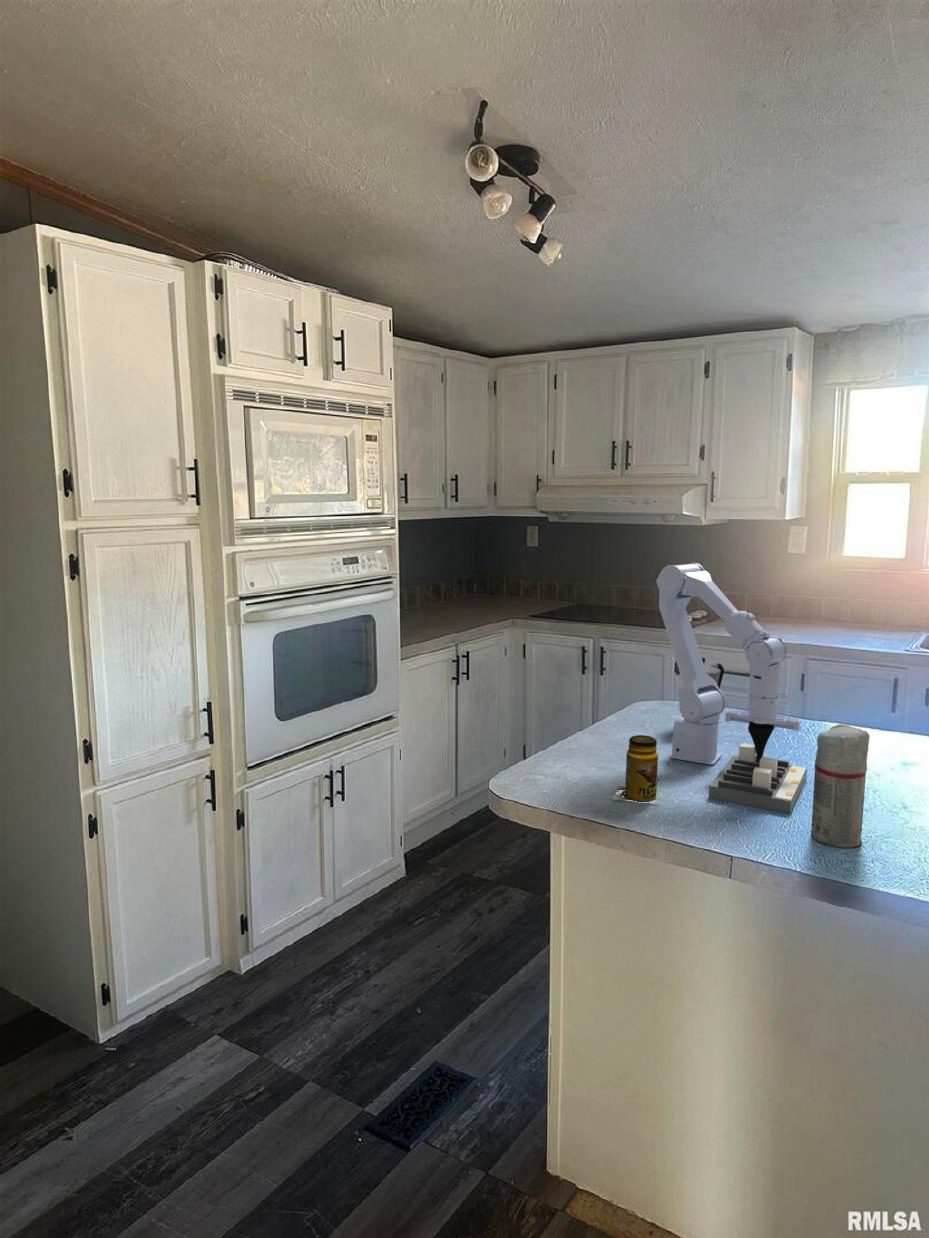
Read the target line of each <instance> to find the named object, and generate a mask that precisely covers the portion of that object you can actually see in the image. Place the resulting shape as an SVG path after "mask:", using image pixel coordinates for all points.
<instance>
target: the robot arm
mask: <svg viewBox="0 0 929 1238" xmlns="http://www.w3.org/2000/svg"><path fill="white" fill-rule="evenodd" d="M656 586H657V588H658V591H659V594H658V595H659V596H658V597H659V599H658V607H659V612H660V614H661V617H662V621H663V623H664V627H665V630H666V633H667V636H668V639H669V643H670V646H671V649H672V652H673V655H674V658H675V662H676V664H677V668H678V671H679V673H680V677H681V683H680V685H679V687H678V689H677V694H678V698H679V702H678V709H679V712H680V715H681V716H676V718H675V720H674V724H673V729H672V744H671V745H672V749H671V750H672V751H671V756H670V758H671V759H675V760H681V761H685V762H686V761H687V762H692V763H698V764H705V765H709V766H714V765H716V763H717V762H718V761H719V759H720V758H721V757H722V755H723V754H722V753H721V752H718V739H719V723H720V721H719V720H720V719H721V718H720V717H721V714H722V713H723V712H724V711H725V709H726V708H727V707H726V706H727V699H726V696H725V694H724V692H723V691H721V690H720V689H719V688H718V686H717V683H716V681H715V680H714V679H713V678H711V677H710V676H709V675H707V673H706V670H705V667H704V665H705V663H704V664H703V661H702V658H703V657H702V655H701V652H700V649H699V646H698V642H697V640H696V636H695V634H694V631H693V627H692V624H691V620H690V618H689V615H688V611H687V606H688V604H689V603H690V601H691V600H692V599H693V597H694V598H695V597H696V598H700V599H701V601H703V602H704V603H705V604H706V605H707V606H708V607H709V608H710V609H711V610H712V611H714V613H715V614H717V615H718V616H719V618H721V619H722V620H723V621H724V629H725V631H726V632H727V634H729V635H730V637H732V638H733V640H734V641H735V642H736V643H737V644H738V645H739V646H740V647H741V648H742V649H743V650H744V653H745V658H746V661H747V663H748V665H749V691H748V704H747V705H748V706H747V710H732V709H728V710H726V711H725V717H724V718H725V719H724V720H725V721H727V722H731V721H732V722H737V723H738V722H739V723H747V724H748V727H747V730H748V732H749V735H750V736H751V739H752V742H753V745H755V749H756V756H757V759H761V758H762V757H764V754H765V753H764V752H765V749H766V747H767V743H768V741H769V739H770V737H771V735H772V733H773V731H774V729H776V728H781V729H788V730H792V731H795V732H799V731H800V729H801V719H797V718H792V717H787V716H782V715H779V714H778V706H779V705H778V704H779V693H780V692H779V690H780V680H781V679H780V676H781V663H782V662H783V661H784V660H785V658H786V656H787V654H788V653H787V646H786V644H785V642H783V639H782V638H780V637H778V636H775V635H770V634H771V633H770V632H769V631H768V630H765V629H764V628H763V627H762V626H761V625H760V624H759V623H758V621H756V620H755V617H756V616H755V615H754V614H753V613H752V612H749V613H748V612H747V611H745V610H738V609H737V608H736V607H735V606H734V605H733V604H732V602H731V601H730V600H729V599H728V598H727V596H726V595H725V594H724V593H723V592H722V590H720V589H719V587H718V586H717V585H716V583H715V582H714V581H713V580H712V577H711V574H710V572H708V571H707V570H705V568H704V567H703V566H702V565H701V564H700V563H696V562H690V563H687V564H686V563H685V564H677V565H676V564H675V565H674V564H669V565H666V566H665V567H663V568H662V569H661V571H660V573H659V575H658V577H657V579H656ZM698 690H699V691H698ZM682 716H683V717H682Z"/></svg>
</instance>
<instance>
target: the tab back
mask: <svg viewBox="0 0 929 1238" xmlns="http://www.w3.org/2000/svg"><path fill="white" fill-rule="evenodd" d="M738 756H739V760H743V761H749V762H755V761H756V756H757V755H756V749H755V745H754V744H751V743H744V742H741V744H740V745H739V749H738Z"/></svg>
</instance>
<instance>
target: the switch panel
mask: <svg viewBox="0 0 929 1238" xmlns="http://www.w3.org/2000/svg"><path fill="white" fill-rule="evenodd" d="M789 763H790V761H789V760H783V759H778V763H777V777H776V778H775V777H771V788H770V789H767V788H761V787H756V786H752V782H753V770H754V769H755V767H757V768H759V765H760V759H757V755H756V761H755V762H749V761H743V760H739V755H735V754H734V755H732V756H731V757H730V759H729V760H728V762H727V763H726V764H725V765H724V766H723V768H721V770H720V771H719V772H718V774H717V775H716V777H715V778H714V779H713V781H711V783H710V785H709V787H708V798H709V799H713V800H719V801H725V802H729V803H735V804H739V805H745V806H749V807H755V808H761V809H764V810H771V811H773V812H774V811H775V812H779V813H780V812H781V813H785V814H791V813H792V810H793V808H794V806H795V804H796V801H797V799H798V797H799V795H800V793H801V791H802V788H803V787H804V784H805V783H806V780H807V775H808V773H807V772H808V767H806V766H805V767H804V766H800V765H793V764H789Z"/></svg>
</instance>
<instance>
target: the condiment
mask: <svg viewBox="0 0 929 1238" xmlns="http://www.w3.org/2000/svg"><path fill="white" fill-rule="evenodd" d="M628 742H629V744H628V750H627V751H626V758H625V762H626V763H625V765H626V766H625V779H624V780H625V785H624V786H623V785H616V787H615V790H614V792H615V791H616V790H617V791H616V792H618V791H619V790H625V791H623V792H622V793H621V794H620V793H619V794H620V795H618V794H617V795H616V794H615V795H614V794H613V797H612V801H619V800H623V801H622V802H627V801H626V800H633V801H637V802H650V801H653V800H658V801H659V795H660V790H657V788H658V762H659V754H658V751H657V739H656V738H654V737H653V736H649V735H644V734H643V735H642V734H636V735H632V736H631V737H629V739H628ZM624 793H625V794H624ZM622 796H624V797H625V798H624V797H623V798H622ZM628 802H629V803H632V802H631V801H628ZM657 805H658V802H655V805H654V804H653V806H657Z"/></svg>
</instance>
